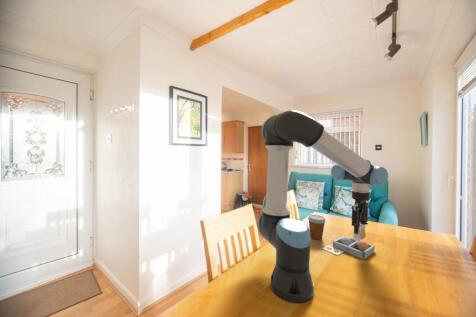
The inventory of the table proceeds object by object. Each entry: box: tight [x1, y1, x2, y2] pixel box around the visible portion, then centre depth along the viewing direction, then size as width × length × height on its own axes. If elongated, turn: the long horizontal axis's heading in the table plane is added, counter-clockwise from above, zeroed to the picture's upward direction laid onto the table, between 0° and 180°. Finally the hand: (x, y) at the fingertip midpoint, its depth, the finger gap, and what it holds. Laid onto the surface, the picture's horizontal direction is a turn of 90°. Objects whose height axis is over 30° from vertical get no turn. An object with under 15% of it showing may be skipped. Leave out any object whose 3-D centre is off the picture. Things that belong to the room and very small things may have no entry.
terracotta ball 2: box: [357, 240, 369, 252], centre depth 102 cm, size 5×5×5 cm
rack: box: [332, 235, 375, 260], centre depth 103 cm, size 13×15×3 cm
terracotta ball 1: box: [360, 229, 367, 241], centre depth 98 cm, size 5×5×5 cm
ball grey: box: [341, 236, 352, 246], centre depth 106 cm, size 5×5×5 cm
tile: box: [321, 245, 345, 256], centre depth 101 cm, size 6×8×1 cm
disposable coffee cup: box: [307, 214, 326, 241], centre depth 116 cm, size 10×10×12 cm
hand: (359, 238), depth 98 cm, fingers closed on terracotta ball 1, 5 cm apart
